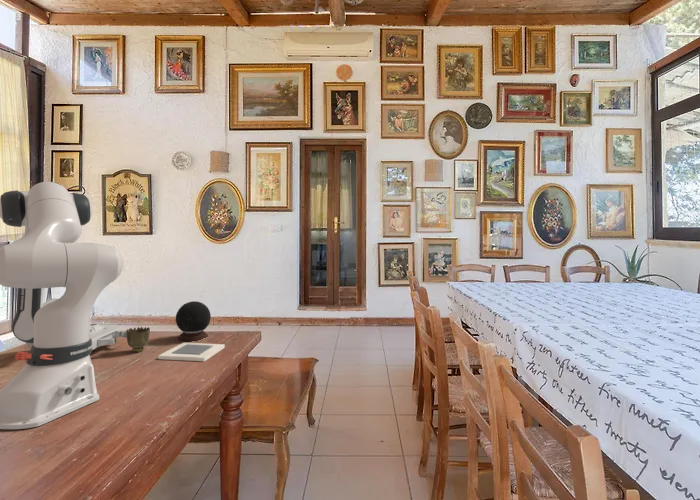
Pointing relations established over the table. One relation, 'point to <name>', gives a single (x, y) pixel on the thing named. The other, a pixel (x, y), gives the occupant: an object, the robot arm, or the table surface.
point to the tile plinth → (192, 352)
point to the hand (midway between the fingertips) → (122, 337)
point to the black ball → (193, 321)
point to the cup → (137, 338)
